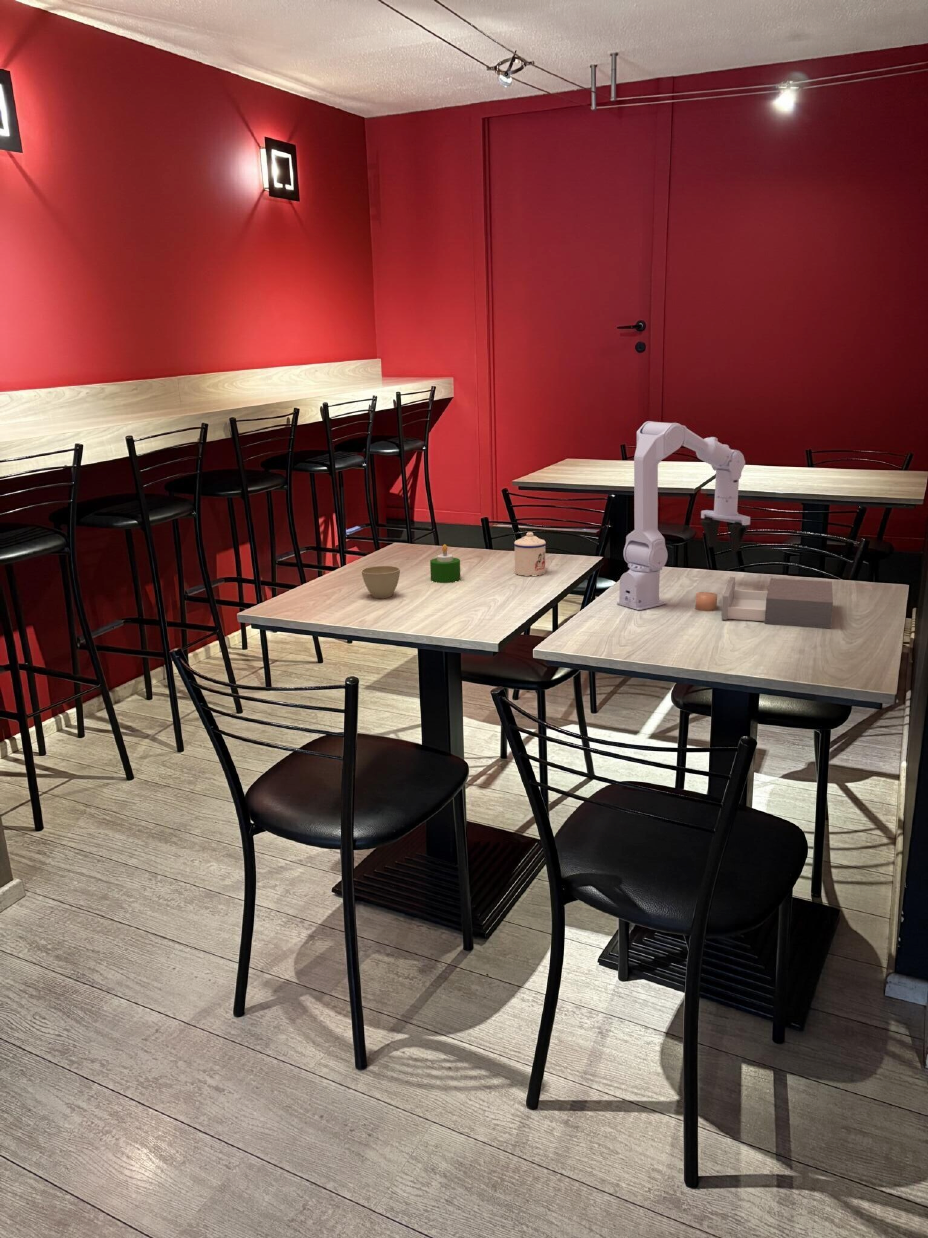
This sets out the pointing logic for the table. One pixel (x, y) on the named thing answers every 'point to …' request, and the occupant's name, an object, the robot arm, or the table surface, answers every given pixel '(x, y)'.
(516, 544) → the teacup with lid
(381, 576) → the bowl
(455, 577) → the candle
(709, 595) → the orange rounded part
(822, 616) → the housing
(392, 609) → the table surface
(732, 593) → the tray
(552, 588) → the table surface
